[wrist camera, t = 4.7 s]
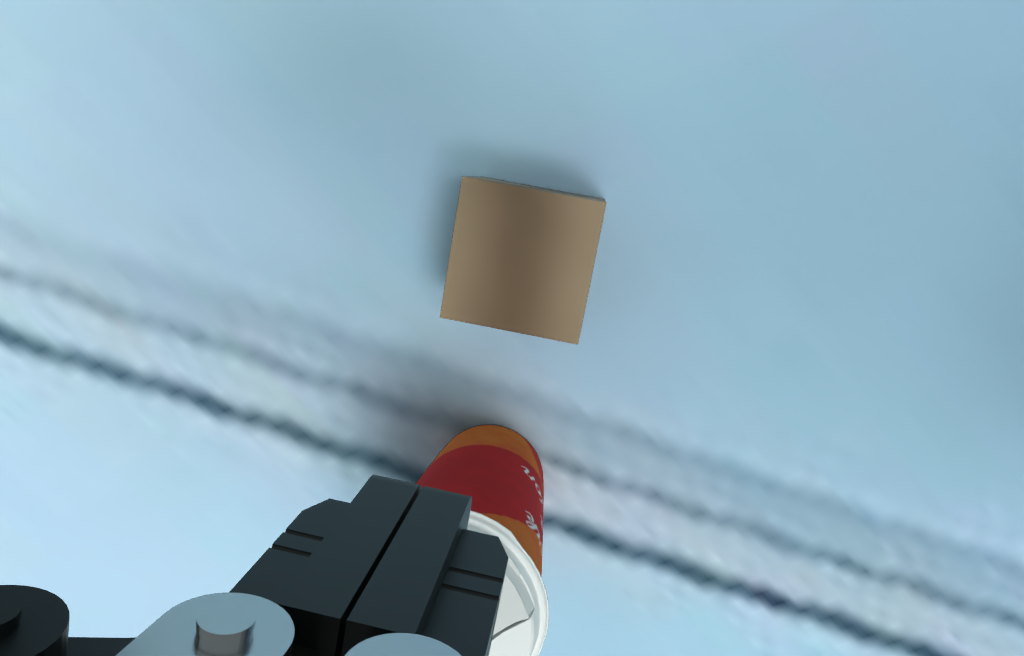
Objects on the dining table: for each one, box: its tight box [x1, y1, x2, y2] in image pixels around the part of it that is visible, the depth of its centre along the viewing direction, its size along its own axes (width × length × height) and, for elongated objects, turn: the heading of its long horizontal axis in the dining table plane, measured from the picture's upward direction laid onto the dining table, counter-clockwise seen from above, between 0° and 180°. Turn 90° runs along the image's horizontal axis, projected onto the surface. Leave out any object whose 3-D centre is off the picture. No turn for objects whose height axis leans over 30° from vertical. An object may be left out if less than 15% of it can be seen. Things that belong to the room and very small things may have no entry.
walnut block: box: [440, 176, 606, 344], centre depth 34 cm, size 6×6×6 cm
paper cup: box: [416, 425, 549, 656], centre depth 33 cm, size 8×8×14 cm
